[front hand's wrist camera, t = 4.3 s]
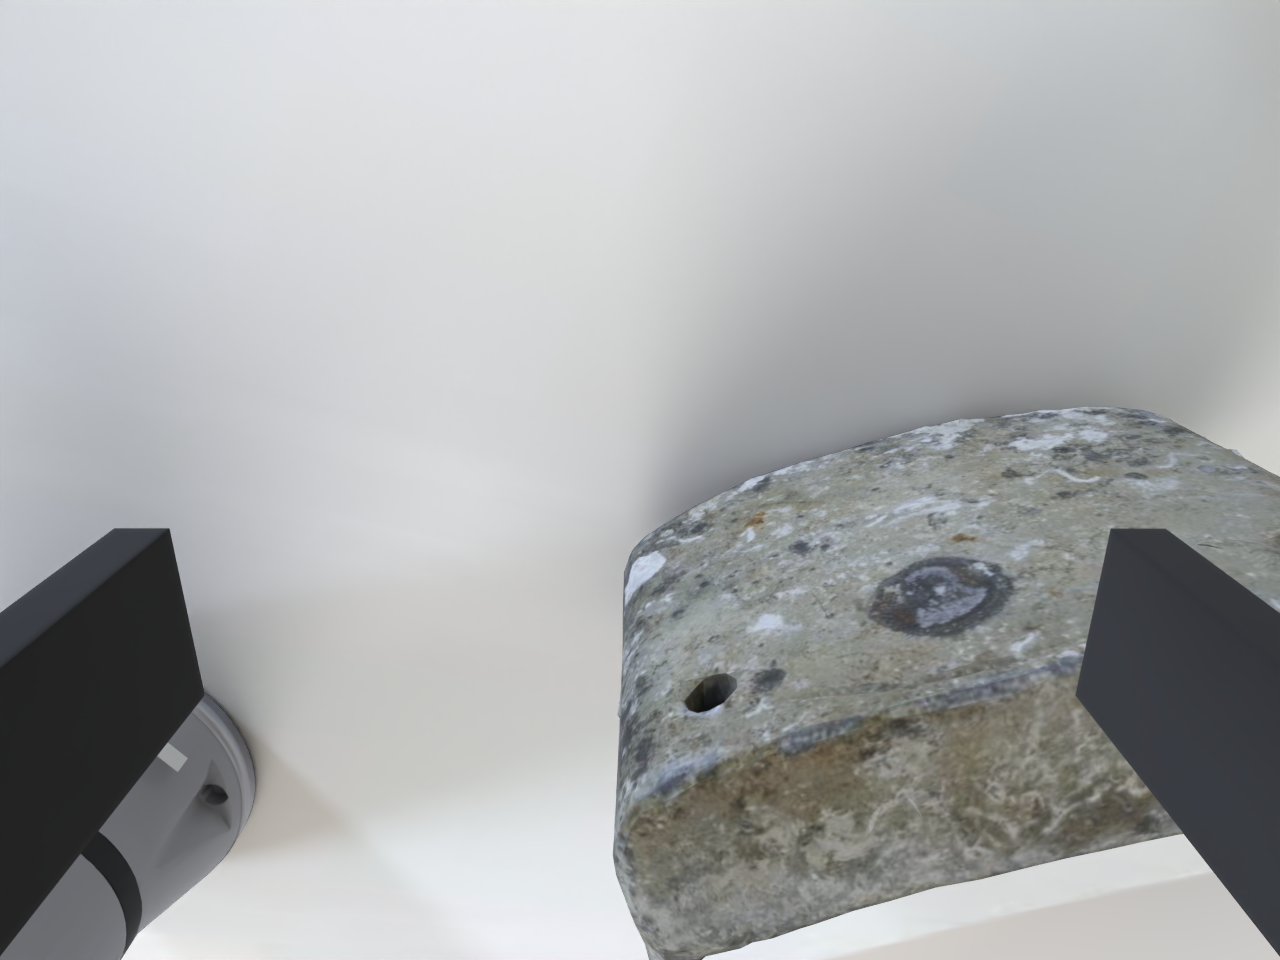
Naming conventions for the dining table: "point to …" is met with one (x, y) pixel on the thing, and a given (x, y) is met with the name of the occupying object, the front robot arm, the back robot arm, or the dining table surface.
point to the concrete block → (896, 667)
